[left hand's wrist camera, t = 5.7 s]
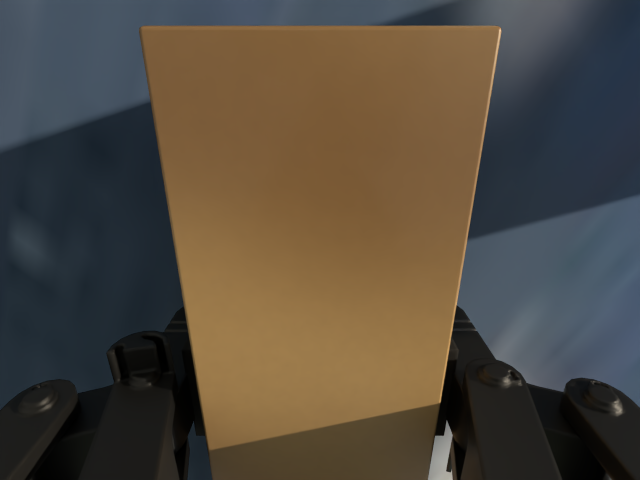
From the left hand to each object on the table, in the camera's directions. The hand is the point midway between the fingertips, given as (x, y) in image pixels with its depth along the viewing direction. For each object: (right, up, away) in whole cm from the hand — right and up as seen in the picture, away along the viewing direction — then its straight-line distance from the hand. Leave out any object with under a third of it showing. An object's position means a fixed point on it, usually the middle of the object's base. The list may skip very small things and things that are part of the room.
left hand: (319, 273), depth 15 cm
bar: (0, -27, +11) cm, 29 cm away
